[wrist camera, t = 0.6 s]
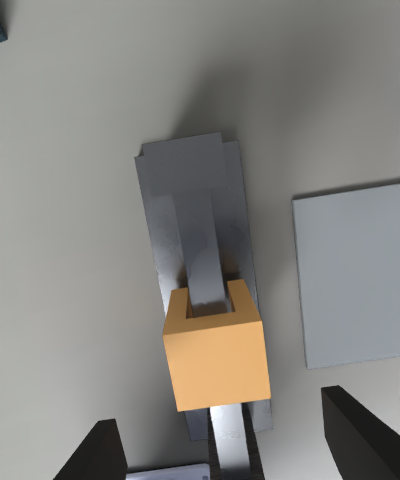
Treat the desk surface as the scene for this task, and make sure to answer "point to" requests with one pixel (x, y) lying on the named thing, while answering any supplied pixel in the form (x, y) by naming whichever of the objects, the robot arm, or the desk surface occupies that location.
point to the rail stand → (205, 270)
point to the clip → (216, 352)
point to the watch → (2, 34)
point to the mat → (349, 275)
